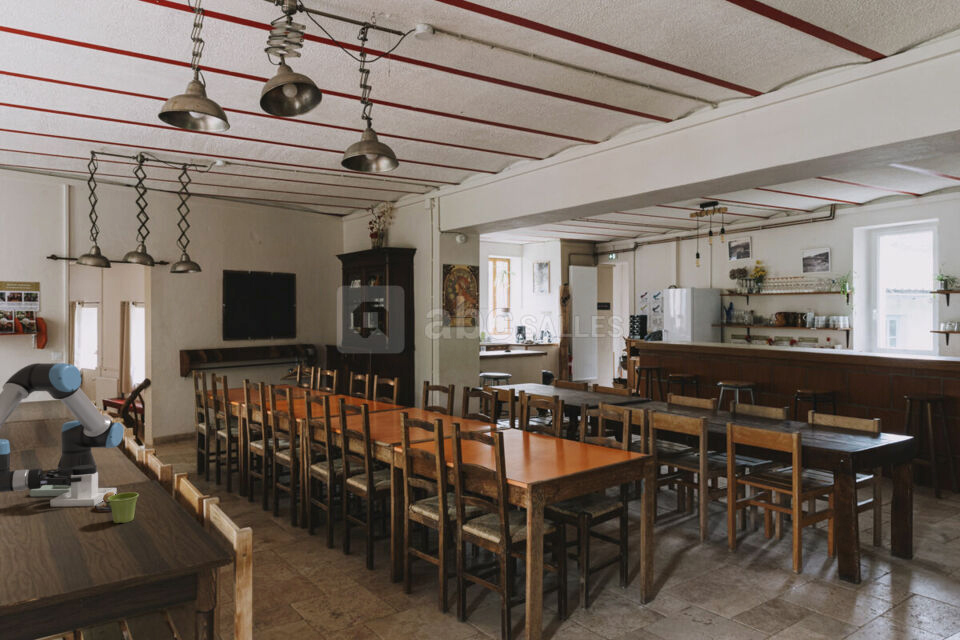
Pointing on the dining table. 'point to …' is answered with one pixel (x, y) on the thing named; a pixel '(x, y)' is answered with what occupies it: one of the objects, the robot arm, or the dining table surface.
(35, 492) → the pale green square frame
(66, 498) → the tray
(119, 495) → the plant pot
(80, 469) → the jar
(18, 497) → the dining table surface
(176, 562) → the dining table surface
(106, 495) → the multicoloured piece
